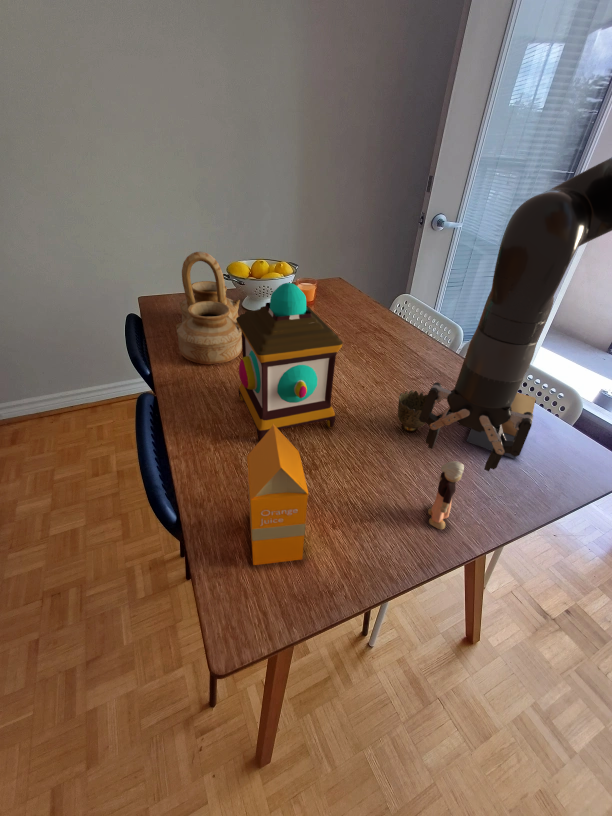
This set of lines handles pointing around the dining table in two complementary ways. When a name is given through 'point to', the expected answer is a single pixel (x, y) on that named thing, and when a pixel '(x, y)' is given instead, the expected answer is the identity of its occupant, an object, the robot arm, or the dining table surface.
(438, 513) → the grandmother figurine
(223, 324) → the ceramic vessel
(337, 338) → the decorative lantern
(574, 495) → the dining table surface
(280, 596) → the dining table surface
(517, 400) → the top block
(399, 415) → the cup
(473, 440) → the base block
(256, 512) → the orange juice
